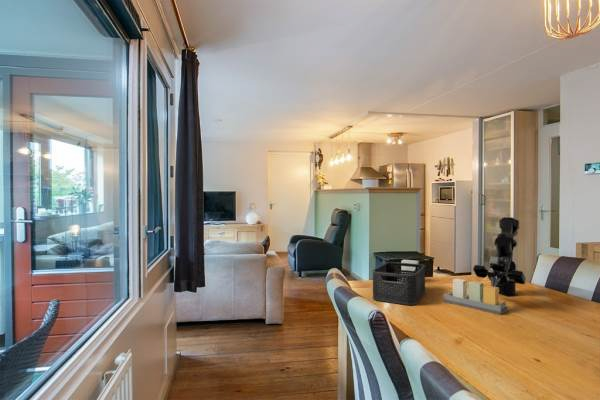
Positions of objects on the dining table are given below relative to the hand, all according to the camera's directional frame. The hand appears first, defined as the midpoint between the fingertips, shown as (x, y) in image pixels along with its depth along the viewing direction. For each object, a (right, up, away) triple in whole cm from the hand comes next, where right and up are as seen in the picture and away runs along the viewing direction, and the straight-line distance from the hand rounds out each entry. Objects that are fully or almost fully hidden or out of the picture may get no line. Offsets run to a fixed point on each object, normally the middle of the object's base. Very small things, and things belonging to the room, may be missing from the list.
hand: (492, 290), depth 141 cm
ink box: (-19, -8, +46) cm, 50 cm away
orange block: (-2, -6, -1) cm, 7 cm away
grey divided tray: (-5, -8, +5) cm, 10 cm away
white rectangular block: (-8, -6, +11) cm, 15 cm away
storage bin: (-32, -8, +21) cm, 39 cm away
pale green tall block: (-4, -6, +6) cm, 9 cm away
